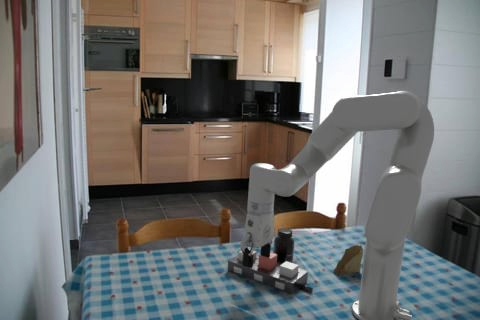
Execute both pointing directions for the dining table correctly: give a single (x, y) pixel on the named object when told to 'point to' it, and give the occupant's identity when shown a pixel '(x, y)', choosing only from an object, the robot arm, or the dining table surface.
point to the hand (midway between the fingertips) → (256, 261)
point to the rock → (350, 261)
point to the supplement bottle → (284, 245)
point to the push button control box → (270, 276)
